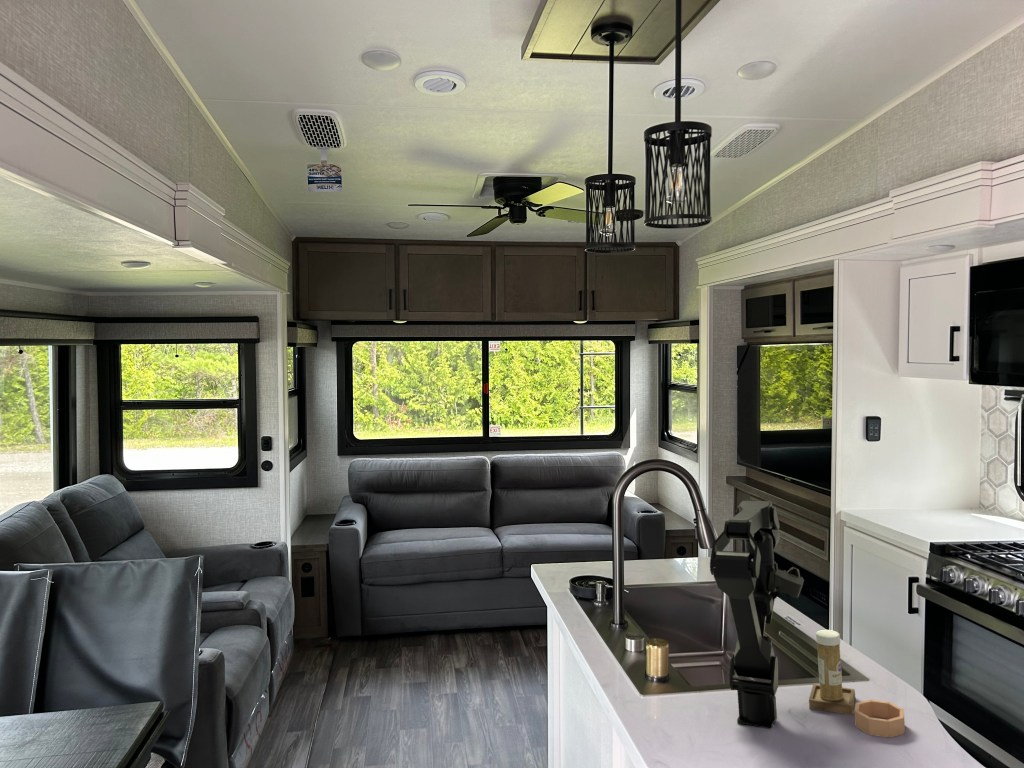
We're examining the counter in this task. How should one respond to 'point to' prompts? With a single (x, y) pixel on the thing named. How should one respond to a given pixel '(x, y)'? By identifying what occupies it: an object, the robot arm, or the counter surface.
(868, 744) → the counter surface
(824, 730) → the counter surface
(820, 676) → the sprinkles bottle
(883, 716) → the holder ring
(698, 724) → the counter surface
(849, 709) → the walnut tray
